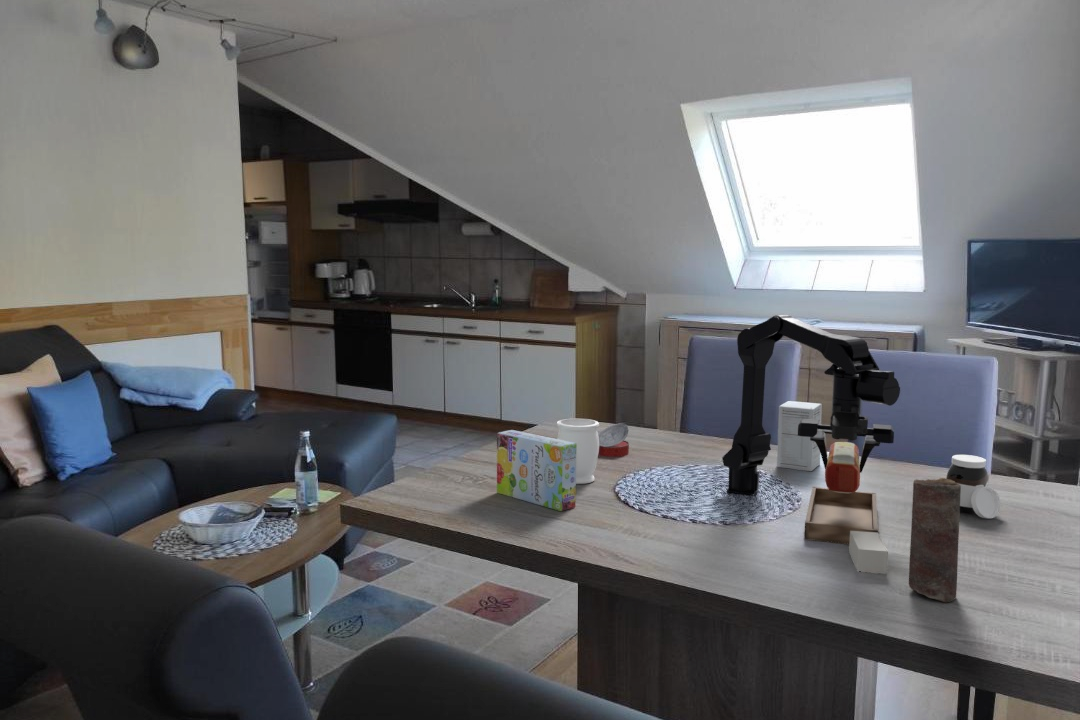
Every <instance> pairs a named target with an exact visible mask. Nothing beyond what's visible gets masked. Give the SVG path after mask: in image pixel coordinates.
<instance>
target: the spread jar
mask: <svg viewBox="0 0 1080 720" xmlns="http://www.w3.org/2000/svg"><path fill="white" fill-rule="evenodd" d="M986 466H987V459H986V458H983V457H980V456H977V455H971V454H954V455H952V457H951V465H950V466H949V469H948V470H947V473H946V476H945V479H950V480H952V481H955V483H958V484H960V485H961V495H960V513H964V514H976V515H977V516H978V517H980V518H981V519H994V518H996V517H997V516H998V515H999V513H1000V511H1001V506H1002V505H1001V499H1000V496H999V493H997V491H996V490H995V489H994V488H992V487H990V486H989V482H990V477H989V476H990V475H989V472H988V470H987V468H986Z"/></svg>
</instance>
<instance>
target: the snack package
mask: <svg viewBox="0 0 1080 720" xmlns="http://www.w3.org/2000/svg"><path fill="white" fill-rule="evenodd" d="M827 458H828V461H827V466H826V469H825V468H824V482H825V485H826V488H828V489H829V490H831V491H833V492H837V493H853V492H855V491H858V490H859V487H860V485H861V484H860V483H861V480H860V479H861V473H860V450H859V447H858V445H856V444H855V443H854V442H850V441H836V442H835V441H834V442H833V443H831V444H830V447H829V453H828V455H827Z"/></svg>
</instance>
